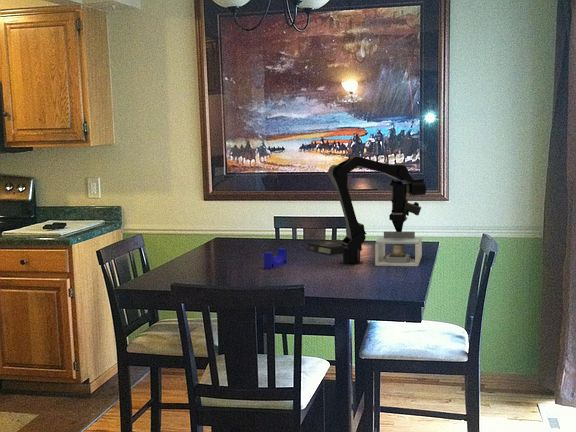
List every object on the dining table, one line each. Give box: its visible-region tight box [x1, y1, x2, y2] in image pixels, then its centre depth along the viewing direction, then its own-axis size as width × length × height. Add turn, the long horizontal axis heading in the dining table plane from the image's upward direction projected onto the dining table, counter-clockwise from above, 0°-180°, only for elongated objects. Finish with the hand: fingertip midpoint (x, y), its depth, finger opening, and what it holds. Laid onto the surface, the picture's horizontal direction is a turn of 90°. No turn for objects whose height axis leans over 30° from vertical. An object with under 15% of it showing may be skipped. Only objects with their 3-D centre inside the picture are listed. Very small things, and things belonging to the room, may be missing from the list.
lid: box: [375, 231, 420, 245], centre depth 274 cm, size 11×16×3 cm
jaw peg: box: [392, 244, 404, 257], centre depth 272 cm, size 4×4×6 cm
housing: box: [374, 235, 423, 267], centre depth 279 cm, size 24×16×8 cm, turn 166°
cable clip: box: [263, 248, 288, 270], centre depth 276 cm, size 12×4×6 cm, turn 150°
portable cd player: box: [307, 239, 363, 256], centre depth 306 cm, size 16×17×4 cm
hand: (399, 235), depth 281 cm, fingers closed
